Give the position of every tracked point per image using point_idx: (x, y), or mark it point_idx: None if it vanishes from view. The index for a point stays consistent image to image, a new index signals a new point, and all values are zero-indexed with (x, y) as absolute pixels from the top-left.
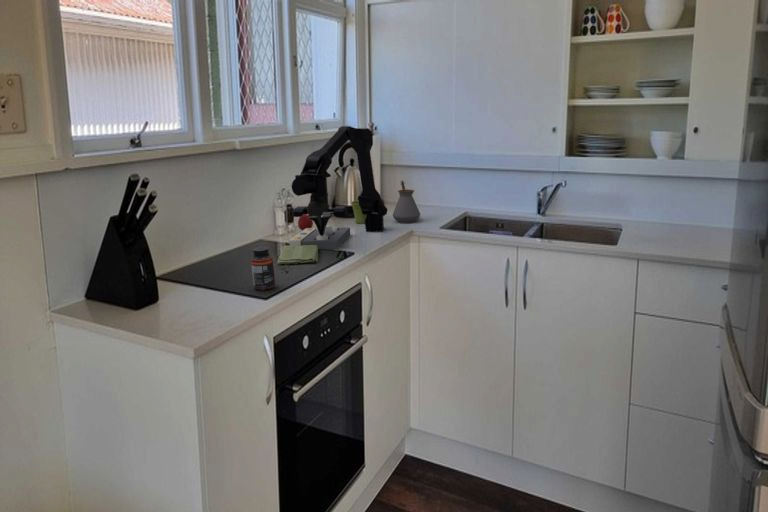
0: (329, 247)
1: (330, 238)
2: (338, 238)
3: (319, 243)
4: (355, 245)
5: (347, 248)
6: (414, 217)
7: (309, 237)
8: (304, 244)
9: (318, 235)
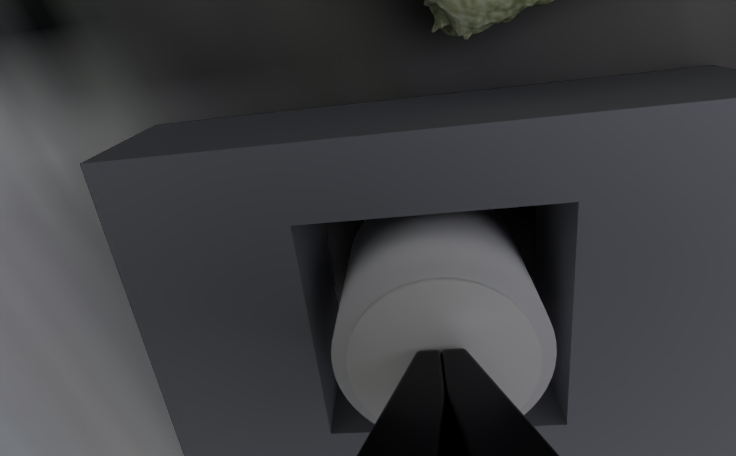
0: (249, 120)
1: (288, 343)
2: (151, 351)
3: (416, 116)
4: (42, 357)
5: (47, 213)
6: None
7: (703, 379)
8: (730, 84)
9: (520, 376)
